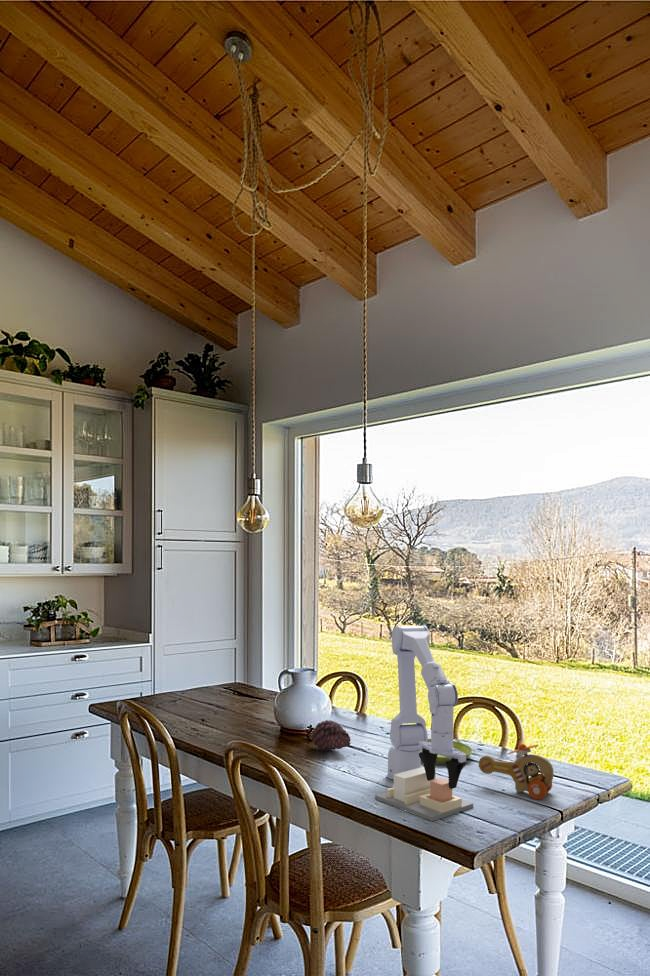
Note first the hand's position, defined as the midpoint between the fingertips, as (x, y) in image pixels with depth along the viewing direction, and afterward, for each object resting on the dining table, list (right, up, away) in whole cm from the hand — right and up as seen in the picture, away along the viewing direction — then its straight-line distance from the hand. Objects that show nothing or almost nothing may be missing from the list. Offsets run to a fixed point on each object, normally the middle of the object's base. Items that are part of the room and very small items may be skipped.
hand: (441, 783), depth 195 cm
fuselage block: (-6, -5, +5) cm, 9 cm away
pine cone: (-29, -9, +48) cm, 57 cm away
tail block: (0, -5, -2) cm, 5 cm away
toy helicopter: (+23, -7, +13) cm, 28 cm away
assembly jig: (-4, -6, +2) cm, 8 cm away
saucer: (+6, -10, +45) cm, 46 cm away
